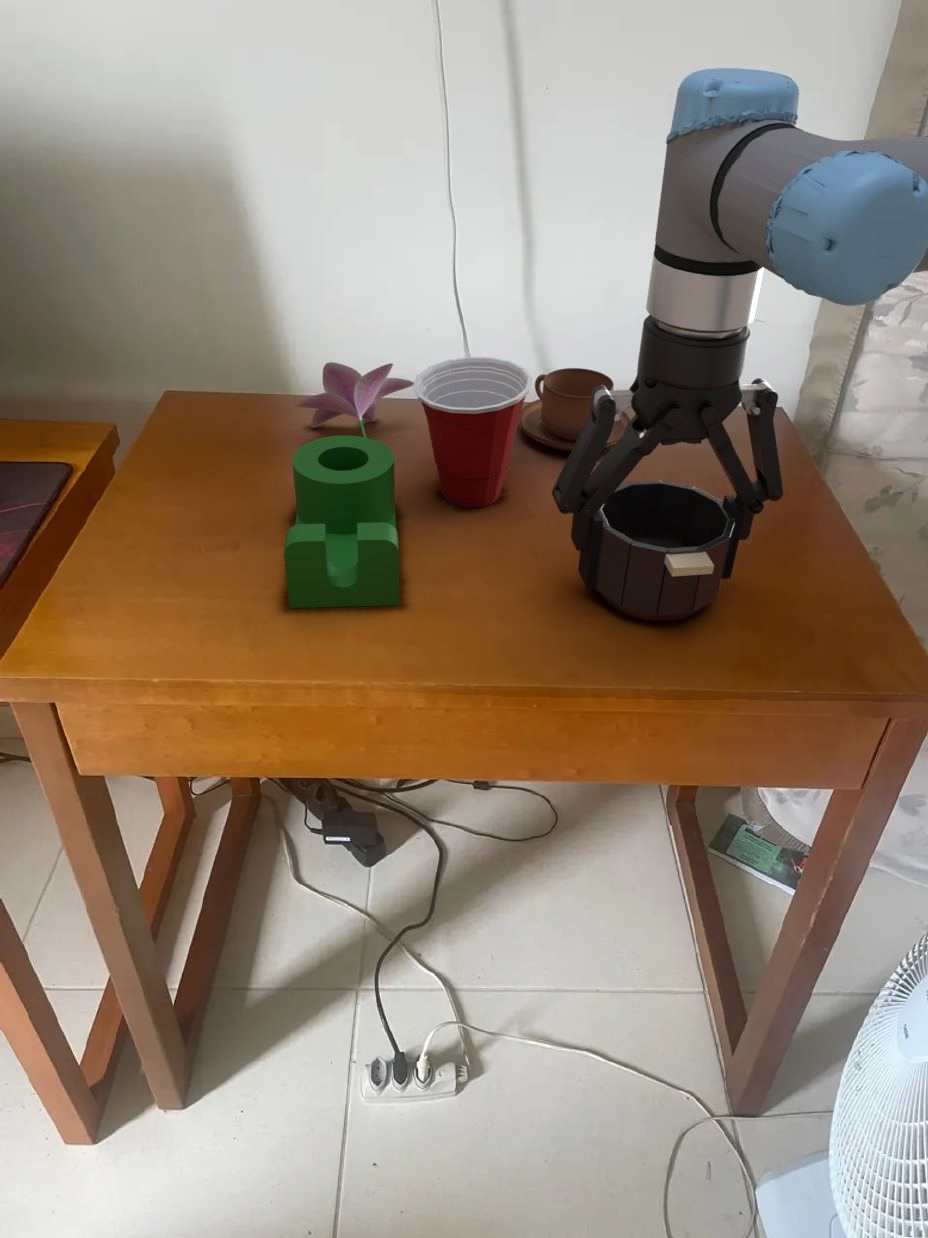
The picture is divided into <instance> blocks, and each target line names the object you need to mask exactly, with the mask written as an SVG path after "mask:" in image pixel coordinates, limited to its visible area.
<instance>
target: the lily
mask: <svg viewBox="0 0 928 1238" xmlns="http://www.w3.org/2000/svg"><path fill="white" fill-rule="evenodd" d="M393 366H394V363H392V362H391V363H387V364H383V365H381V366H379V367H377V368H375V369H372V370H370V371H369V372H367V373H365V374H363V375H362V374H361V373H360V372H359V371H357V370H356V369H354V368H353V367H351V366H348V365H345V364H342V363H338V362H332V361H329V362H326V363H325V364H324V365H323V368H322V386H323V390H324V392H322V393H319V394H314V395H313V396H309V397H307V398H304V399H303V400H301V401H298V402H296V403H295V404H294V405H293V406H294V408H308V409H316V410H315V411H314V414H313V416H312V419H311V423H310V424H311V425H310V426H311V428H317V427H319V426H321V425H323V424H324V423H327V422H329V421H330V420H333V419H334V418H337V417H340V416H341V415H347V416H351V417H354V418H357V419H358V422H359V425H360V430H361V433H362V437H366V438H367V434H366V431H365V427H364V423H363V420H365V421H369V422H375V420H376V417H377V413H378V412H377V410H378V404H377V401H378V400H380V399H382V398H384V397H387V396H388V395H390V394H393V393H396V392H399V391H403V390H405V389H409V388H411V387H413V384H414V382H415V381H411V380H409V379H404V378H397V377H388V376H389V374H390V372H391V370H392V368H393Z"/></svg>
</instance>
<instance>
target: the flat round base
mask: <svg viewBox="0 0 928 1238" xmlns="http://www.w3.org/2000/svg"><path fill="white" fill-rule="evenodd" d="M600 594H601V596H602V598H603V600H604V601H606V603H608V604H609V605H610V606H611V607H612V608H614V609H615V610H617V611H619V612H620V613H622V614H625V615H627V616H630V617H633V618H636V619H640V620H644V621H651V622H672V621H678V620H682V619H685V618H688V617H690V616H692V615H694V614H695V613H696V612H698V611H699V610H700V609H701V608H699V609H698V610H696V611H694V612H692V611H691V613H679V614H666V615H658V614H657V613H656V615H655V614H651V613H646V612H642V611H638V610H634V609H630V608H626V607H622V605H621V606H620V605H618V604H617V603H615V602H614V601H612V600H611V599H609V598H608V597H606V596H605V595H603V594H602V593H600Z"/></svg>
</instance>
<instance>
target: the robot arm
mask: <svg viewBox="0 0 928 1238" xmlns="http://www.w3.org/2000/svg"><path fill="white" fill-rule="evenodd" d="M799 98H800V88H799V86H798V84H797V83H796V81H794V80H793V78H792V77H790V76H789V75H785V74H782V73H779V72H774V71H769V70H768V71H767V70H761V69H751V68H750V69H749V68H735V67H734V68H733V67H732V68H731V67H721V68H720V67H718V68H706V69H705V68H704V69H700V70H697V71H694V72H691V73H690V74H688V75H687V76H686V77H685V78H684V79H683V80H682V81H681V83H680V85H679V87H678V89H677V92H676V97H675V104H674V110H673V116H672V121H671V127H670V132H669V133H668V134H667V135H666V139H665V145H666V150H665V159H664V166H663V174H662V183H661V191H660V198H659V205H658V206H659V207H658V215H657V222H656V230H655V238H654V239H655V240H654V241H655V244H654V250H653V254H652V261H651V269H650V276H649V283H648V291H647V297H646V305H645V306H646V307H645V310H646V312H647V313H648V315H647V316H646V318H645V319H644V320H643V324H642V330H641V338H640V346H639V353H638V360H637V370H636V377H635V378H634V381H633V383H632V384H631V386H630V387H629V389H616V390H614V389H613V391H608V390H607V388H606V387H605V386H604V385H597V386H596V387H594V389H593V390H592V394H591V403H590V412H589V415H588V417H587V419H586V421H585V424H584V426H583V428H582V430H581V432H580V434H579V436H578V438H577V440H576V442H575V444H574V446H573V448H572V450H571V451H570V453H569V455H568V456H567V458H566V461H565V463H564V465H563V467H562V470H561V472H560V474H559V476H558V477H557V479H556V482H555V484H554V486H553V488H552V489H551V496H552V497H553V500H554V502H555V504H556V507H557V509H558V511H559V512H560V513H561V514H563V515H567V514H572V522H571V530H570V539H571V541H572V544H573V545H574V548H575V550H576V551H577V552H579V557H578V558H579V559H578V568H577V572H578V573H579V576H580V578H581V580H582V583H583V585H584V587H585V589H595V582H596V575H597V567H598V559H599V551H600V544H601V536H602V528H603V521H604V520H603V518H602V516H601V514H600V512H599V509H600V508H601V507H602V506H603V505H604V503H605V502H606V501H607V500H608V499H609V497H610V496H611V495H612V494H613V493H614V491H615V490H616V489H617V488H618V487H619V485H621V484H623V482H624V481H625V479H627V477H628V476H629V475H630V474H631V472H632V471H634V469H635V468H636V466H637V465H638V464H639V463H640V462H641V460H643V458H644V457H645V456H646V457H647V456H649V455H651V454H652V453H653V452H654V450H655V449H656V448H657V447H658V445H660V444H661V446H672V445H673V446H674V445H676V444H680V443H686V444H690V445H696V444H699V445H700V444H702V442H703V441H704V440H706V439H707V441H708V443H709V445H710V446H711V449H712V450H713V452H714V454H715V456H716V458H717V461H718V462H719V464H720V465H721V467H722V470H723V472H724V473H725V475H726V477H727V479H728V481H729V483H730V485H731V487H732V489H733V491H734V492H735V494H736V495H734V494H728V495H727V494H726V495H724V496H723V500H722V502H724V504H725V505H726V507H727V508H728V510H729V511H730V512H731V514H732V515H733V517H734V518H735V521H736V522H735V526H734V531H733V535H732V540H731V544H730V549H729V553H728V557H727V562H726V566H725V571H724V575H723V580H729V579H731V578H732V573H733V568H734V565H735V561H736V555H737V551H738V547H739V543H740V541H746V540H747V539H748V537H749V536H750V534H751V530H752V526H753V522H754V517H755V515H759V514H761V513H762V512H763V510H764V508H765V504H764V503H763V502H766V501H769V500H770V501H771V502H777V501H779V500H781V499H782V497H784V487H783V481H782V474H781V465H780V459H779V451H778V443H777V438H776V430H775V423H774V418H775V413H776V409H777V404H778V400H779V394H778V393H777V392H776V391H775V390H774V389H773V387H772V386H771V385H770V384H769V383H768V381H766V380H765V378H762V377H758V378H755V379H754V380H753V381H752V382H751V383H750V384H740V378H741V376H742V375H743V371H744V366H745V361H746V356H747V352H748V347H749V343H750V339H751V338H750V337H751V330H750V329H749V327H748V325H750V324H751V323H752V322H754V319H755V315H756V309H757V304H758V299H759V294H760V289H761V284H762V279H763V274H764V269H765V270H766V271H768V272H770V273H772V274H774V275H775V276H777V277H779V278H781V279H782V280H783V281H784V282H785V283H786V284H788V285H791V286H792V287H793V288H794V289H795V290H797V291H803V292H804V293H805V294H806V295H809V296H812V297H816V298H817V297H818V298H821V299H823V300H826V301H828V302H830V303H833V304H835V305H839V306H840V305H841V306H847V307H849V306H850V307H856V306H863V305H864V306H865V305H868V304H871V303H874V302H875V301H877V300H880V299H881V297H882V296H883V295H885V294H886V293H888V292H889V291H891V290H894V289H897V288H898V287H899V286H901V285H902V284H903V283H905V282H906V280H907V279H909V277H910V276H911V275H912V274H918V273H922V272H928V135H925V136H910V137H908V136H907V137H892V138H891V137H888V138H872V139H871V138H870V139H856V140H844V139H843V140H840V139H833V138H829V137H825V136H822V135H818V134H815V133H811V132H809V131H805V130H804V129H801V128H798V127H797V126H796V125H797V121H798V119H799V116H798V110H799V109H798V107H799ZM740 404H741V405H740ZM739 405H740V406H741V408H742V409H743V410H744V412H745V413H746V421H747V427H748V433H749V439H750V444H751V451H752V458H753V459H752V460H753V465H754V471H755V478H756V480H754V481H751V479H750V476H749V475H748V472H747V471H746V468H745V467H744V465H743V463H742V461H741V459H740V457H739V455H738V453H737V451H736V449H735V447H734V445H733V442H732V439H731V438H730V435H729V434H728V432H727V430H726V428H725V426H724V421H726V419H727V418H728V417H729V416H730V415H731V414H732V413H733V412H734V411H735V410H736V408H737V407H738V406H739ZM627 409H632V411H633V412H634V413H635V414H634V415H633V417H632V418H630V422H629V423H628V424H627V426H626V427H625V429H624V434H623V435H622V437H621V438H620V439H619V440H618V442H617V443H616V444H615V445H613V446H612V447H611V449H610V450H609V451H608V452H607V454H606V455H605V456H604V457H603V459H602V460H601V461H600V462H599V464H597V462H598V460H599V459H600V457H601V455H602V453H603V450H605V448H604V447H605V445H606V443H607V441H608V439H609V436H610V434H611V432H612V428H613V424H614V422H618V421H619V420H620V419H621V416H622V413H623V412H625V411H626V410H627ZM645 431H646V432H645ZM644 432H645V433H644ZM596 465H597V466H596ZM595 466H596V467H595Z"/></svg>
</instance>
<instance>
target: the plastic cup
mask: <svg viewBox="0 0 928 1238" xmlns="http://www.w3.org/2000/svg"><path fill="white" fill-rule="evenodd" d="M532 380H533V377H532V376H531V375H530V373H529V371H528V370H527V368H525V367H523V366H522V365H520V364H517V363H516V362H514V361H512V360H507V359H502V358H498V357H493V356H466V357H458V358H452V359H447V360H444V361H441V362H439V363H435V364H433V365H432V364H431V365H430V366H428V367H427V368H426V369H424V370H422V371H421V372H420V373H419V374H417V375H416V377H415V379H414V381H413V382H414V384H413V386H412V388H413V390H414V392H415V394H416V397H417V399H418V401H420V402H421V405H422V408H423V411H424V414H425V417H426V421H427V426H428V427H427V428H428V432H429V437H430V442H431V448H432V453H433V459H434V463H435V465H436V469H437V470H436V471H437V476H438V482H439V487H440V490H441V494H442V495H443V498H444V499H445V500H447V502H449V503H450V504H452V505H455V506H459V507H463V508H483V507H486V506H489V505H491V504H494V503H495V502H496V501H497V500H498V499H499V498H500V495H501V493H502V490H503V486H504V483H505V482H504V481H505V477H506V473H507V470H508V468H509V463H510V460H511V455H512V451H513V446H514V442H515V437H516V432H517V427H518V424H519V418H520V414H521V410H522V409H523V408H524V407H523V406H524V403H525V400H526V397H527V395H528V394H530V390H531V385H532Z"/></svg>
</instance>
